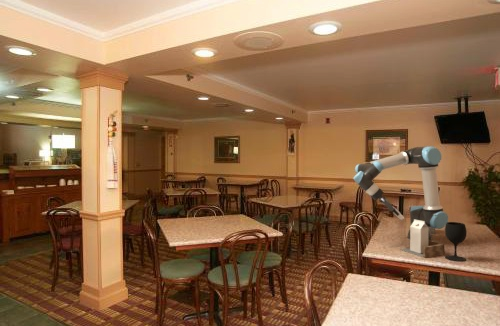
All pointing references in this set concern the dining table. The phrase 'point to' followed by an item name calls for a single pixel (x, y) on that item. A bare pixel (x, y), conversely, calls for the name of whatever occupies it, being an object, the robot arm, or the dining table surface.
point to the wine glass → (455, 238)
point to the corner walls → (433, 249)
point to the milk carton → (418, 236)
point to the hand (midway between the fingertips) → (400, 216)
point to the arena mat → (412, 252)
